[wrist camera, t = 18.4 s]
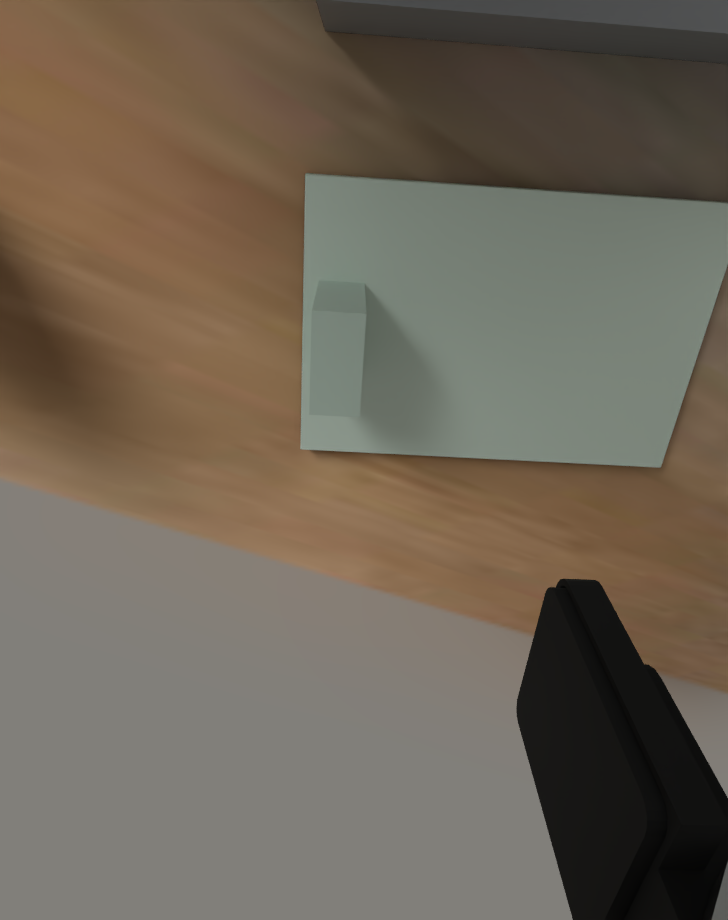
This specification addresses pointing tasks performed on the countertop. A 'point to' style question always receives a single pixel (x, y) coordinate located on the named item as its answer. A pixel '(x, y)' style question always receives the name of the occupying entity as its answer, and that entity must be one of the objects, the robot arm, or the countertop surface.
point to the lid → (502, 319)
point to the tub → (548, 24)
